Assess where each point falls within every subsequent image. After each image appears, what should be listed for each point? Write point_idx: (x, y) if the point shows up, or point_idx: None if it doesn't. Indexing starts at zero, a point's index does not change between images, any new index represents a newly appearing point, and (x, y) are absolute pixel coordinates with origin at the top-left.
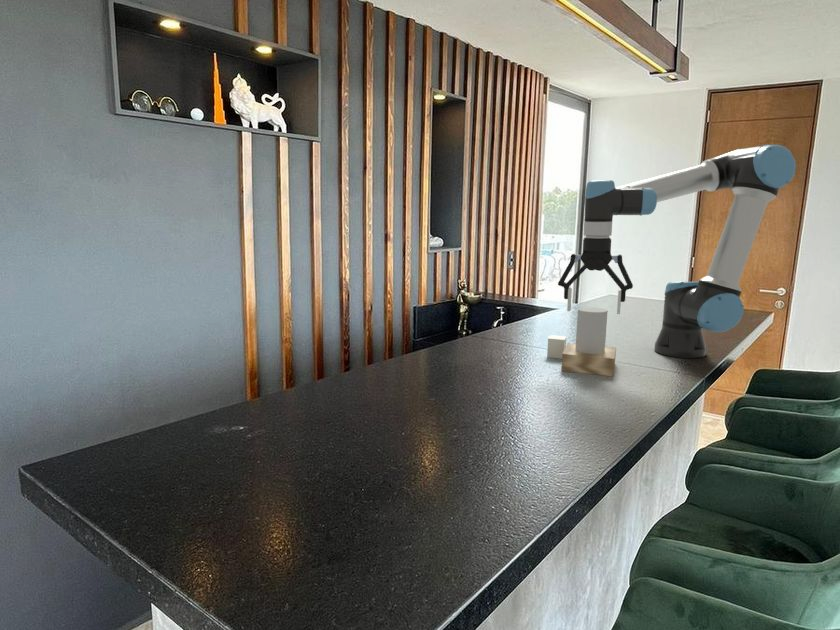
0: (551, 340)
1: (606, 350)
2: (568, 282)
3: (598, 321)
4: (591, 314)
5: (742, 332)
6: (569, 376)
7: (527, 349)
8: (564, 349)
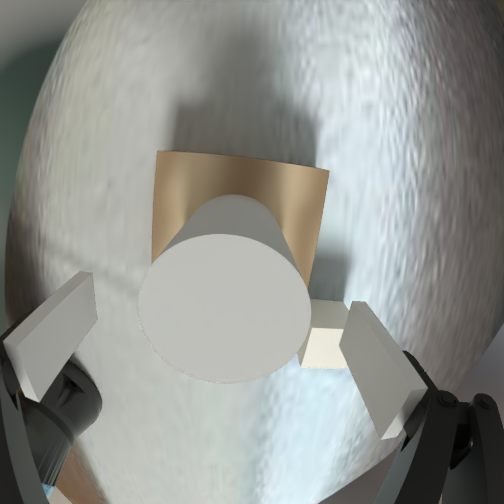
0: None
1: None
2: (448, 427)
3: (193, 225)
4: (231, 231)
5: None
6: (294, 117)
7: None
8: None
